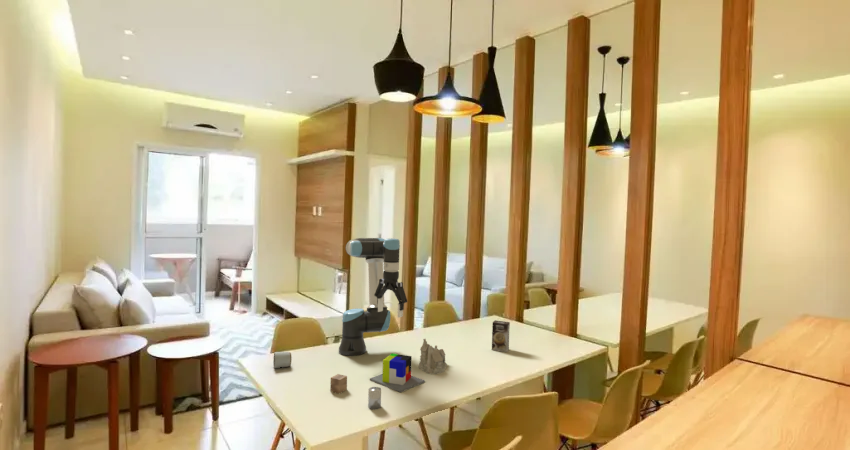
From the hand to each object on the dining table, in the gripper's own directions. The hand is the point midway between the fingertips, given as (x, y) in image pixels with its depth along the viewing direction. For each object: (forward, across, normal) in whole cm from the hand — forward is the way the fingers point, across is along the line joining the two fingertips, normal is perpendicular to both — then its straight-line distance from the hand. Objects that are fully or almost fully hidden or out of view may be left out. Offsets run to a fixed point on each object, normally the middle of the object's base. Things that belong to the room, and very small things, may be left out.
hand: (390, 314), depth 205 cm
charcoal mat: (+28, +11, -5) cm, 31 cm away
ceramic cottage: (+29, +13, +20) cm, 38 cm away
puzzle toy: (+28, +11, -6) cm, 30 cm away
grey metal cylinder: (+27, +23, -30) cm, 47 cm away
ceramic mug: (+30, -44, -31) cm, 62 cm away
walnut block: (+28, 0, -30) cm, 41 cm away
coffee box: (+30, +22, +70) cm, 79 cm away
